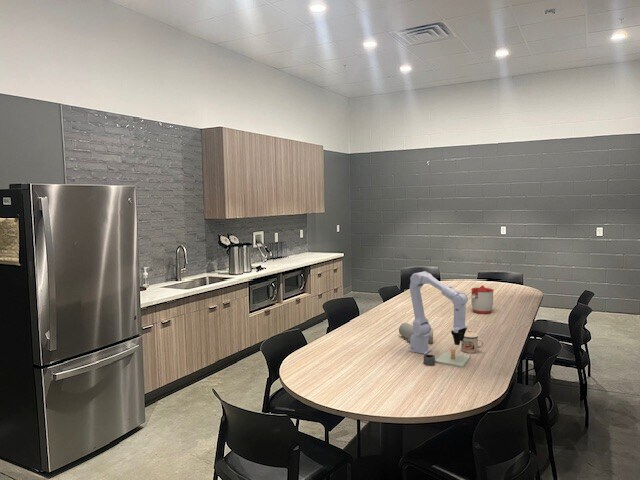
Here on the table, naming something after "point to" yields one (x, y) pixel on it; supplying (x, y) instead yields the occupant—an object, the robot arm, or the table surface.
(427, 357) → the collar
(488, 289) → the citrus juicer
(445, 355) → the pegged green plate
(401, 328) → the bent grey cylinder
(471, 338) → the teacup with lid
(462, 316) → the robot arm
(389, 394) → the table surface
